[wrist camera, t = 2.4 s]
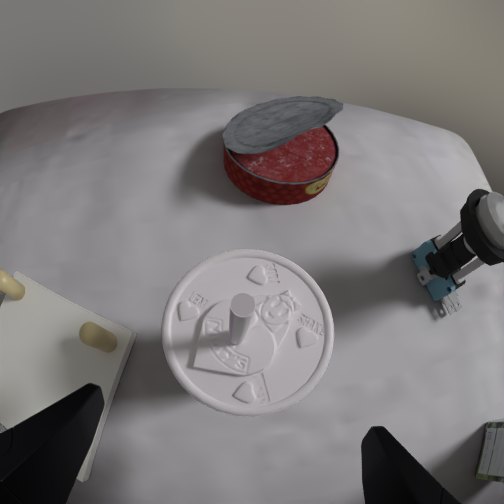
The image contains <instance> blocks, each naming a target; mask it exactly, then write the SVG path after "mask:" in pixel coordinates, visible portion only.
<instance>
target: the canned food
mask: <svg viewBox="0 0 504 504" xmlns="http://www.w3.org/2000/svg"><path fill="white" fill-rule="evenodd" d="M342 110H343V103H340V102H338V101H336V100H334V99H325V98H321V97H301V96H297V97H291V98H282V99H275V100H272V101H269V102H266V103H261V104H257V105H255V106H254V107H251V108H248V109H246V110H244V111H242V112H240V113H238V114H237V115H236V116H234V117H233V118H232V119H231V121H230V122H229V123H228V124H227V126H226V129H225V131H224V133H223V135H222V137H223V140H224V166H225V170H226V172H227V175H228V177H229V178H230V180H231V181H232V182H233V183H234V185H235V186H237V187H238V188H239V189H240V190H241V191H242V192H244V193H246V194H247V195H249V196H251V197H252V198H255V199H258V200H260V201H263V202H267V203H271V204H279V205H291V204H299V203H302V202H306V201H308V200H310V199H312V198H314V197H316V196H317V195H318V194H320V193H321V192H322V191H323V190H324V188H325V187H326V185H327V183H328V181H329V179H330V177H331V174H332V172H333V170H334V168H335V166H336V164H337V161H338V158H339V147H338V143H337V140H336V138H335V136H334V134H333V133H332V131H331V130H330V129H329V128H328V126H326V125H325V124H326V123H328V122H329V121H330V120H331V119H332V118H333V117H334V116H335V115H336V114H337V113H339V112H340V111H342Z"/></svg>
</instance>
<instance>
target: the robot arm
mask: <svg viewBox="0 0 504 504" xmlns="http://www.w3.org/2000/svg"><path fill="white" fill-rule="evenodd" d="M104 405H105V402H104V397H103V393H102V389H101V387H100V386H99V385H96V384H93V383H87V384H86V385H84V386H82V387H81V388H79V389H77V390H76V391H74V392H72V393H71V394H69V395H67V396H65V397H64V398H62V399H60V400H59V401H57V402H55V403H53V404H52V405H50V406H48V407H47V408H45V409H43V410H41V411H40V412H38V413H36V414H34V415H33V416H31V417H29V418H27V419H26V420H24V421H22V422H20V423H19V424H17V425H15V426H14V427H11V428H9V429H8V430H6V431H4V432H2V433H0V504H66V502H67V499H68V497H69V494H70V492H71V490H72V487H73V485H74V483H75V480H76V478H77V476H78V474H79V471H80V469H81V467H82V465H83V462H84V460H85V458H86V456H87V454H88V451H89V449H90V447H91V445H92V442H93V439H94V436H95V433H96V430H97V427H98V424H99V421H100V418H101V415H102V412H103V409H104ZM361 453H362V483H363V491H364V498H365V504H461V503H460V502H458V501H457V500H456V499H455V498H454V497H453V496H452V495H451V494H450V493H449V492H448V491H447V490H446V489H445V488H442V485H441V484H440V483H439V482H438V481H437V480H436V479H435V478H434V477H433V476H432V475H431V474H430V473H429V472H428V471H427V470H426V469H425V468H424V467H423V466H422V465H421V464H420V463H419V462H418V461H417V460H416V459H415V458H414V457H413V456H412V455H411V454H410V453H409V452H408V451H407V450H406V449H405V448H404V447H403V446H402V445H401V444H400V443H399V442H398V441H397V440H396V439H395V438H394V437H393V436H392V435H391V434H390V432H389V431H388V430H387V429H386V428H385V427H383V426H373V427H371V428H370V430H369V431H368V433H367V434H366V435H365V437H364V438H363V440H362V443H361Z"/></svg>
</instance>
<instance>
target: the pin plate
mask: <svg viewBox="0 0 504 504" xmlns="http://www.w3.org/2000/svg"><path fill="white" fill-rule="evenodd" d="M0 291H2V292H3V293H5V294H6V295H5V297H4V299H3V302H2V304H1V307H0V423H1V424H2V425H3V426H4V427H6V428H7V429H9V428H11V427H14V426H15V425H17V424H19V423H20V422H22V421H24V420H26V419H27V418H29V417H31V416H33V415H34V414H36V413H38V412H40V411H41V410H43V409H45V408H47V407H48V406H50V405H52V404H53V403H55V402H57V401H59V400H60V399H62V398H64V397H65V396H67V395H69V394H71V393H72V392H74V391H76V390H77V389H79V388H81V387H82V386H84V385H86V384H87V383H93V384H96V385H99V386H100V387H101V389H102V393H103V397H104V402H105V405H104V409H103V412H102V415H101V418H100V421H99V424H98V427H97V430H96V433H95V436H94V439H93V442H92V445H91V447H90V449H89V451H88V454H87V456H86V458H85V460H84V462H83V465H82V467H81V469H80V471H79V474H78V476H77V478H76V479H78V480H79V481H81V482H84V481H86V480H88V479H89V475H90V472H91V468H92V465H93V461H94V458H95V454H96V451H97V447H98V444H99V441H100V437H101V434H102V431H103V428H104V425H105V422H106V419H107V416H108V413H109V410H110V407H111V404H112V401H113V398H114V395H115V392H116V389H117V386H118V384H119V381H120V378H121V375H122V372H123V370H124V367H125V364H126V362H127V359H128V356H129V354H130V351H131V348H132V346H133V343H134V341H135V338H136V336H137V333H135V332H134V331H131V330H129V329H127V328H125V327H122V326H120V325H118V324H116V323H114V322H112V321H109V320H107V319H105V318H103V317H101V316H99V315H97V314H95V313H93V312H91V311H89V310H87V309H85V308H83V307H81V306H79V305H77V304H75V303H73V302H71V301H69V300H67V299H65V298H63V297H61V296H59V295H58V294H56V293H54V292H52V291H50V290H48V289H47V288H45V287H43V286H41V285H40V284H38V283H36V282H34V281H33V280H31V279H29V278H28V277H26V276H24V275H23V274H21V273H19V272H18V271H16V272H15V275H14V277H11V276H10V275H8V274H7V273H6V272H4V271H3V270H1V269H0Z"/></svg>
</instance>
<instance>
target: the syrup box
mask: <svg viewBox="0 0 504 504" xmlns="http://www.w3.org/2000/svg"><path fill="white" fill-rule="evenodd" d="M475 477H476V478H478V479H484V480H490V481H496V482H502V483H504V419H501V420H495V421H490V422H487V423H486V428H485V434H484V440H483V445H482V450H481V455H480V460H479V464H478V468H477V472H476V476H475Z"/></svg>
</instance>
